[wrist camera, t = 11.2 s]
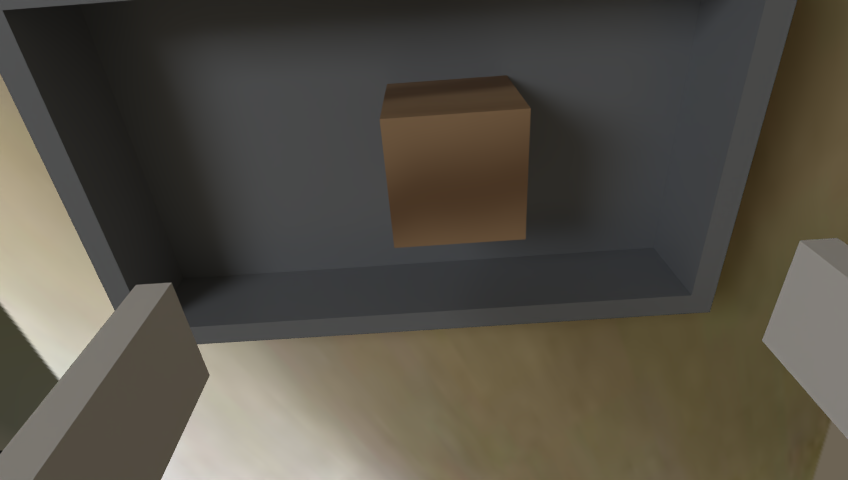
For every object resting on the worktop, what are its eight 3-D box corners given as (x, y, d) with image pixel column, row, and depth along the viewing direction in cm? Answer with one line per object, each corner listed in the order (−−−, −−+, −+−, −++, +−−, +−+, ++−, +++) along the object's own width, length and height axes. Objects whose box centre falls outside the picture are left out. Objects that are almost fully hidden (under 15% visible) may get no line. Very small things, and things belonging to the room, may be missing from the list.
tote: (56, -30, 19) (-47, -24, 15) (729, -83, 19) (822, -93, 15) (178, 284, 27) (132, 348, 23) (661, 252, 26) (709, 312, 22)
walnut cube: (387, 84, 21) (379, 119, 16) (506, 75, 21) (530, 108, 16) (398, 192, 23) (394, 247, 19) (504, 185, 23) (525, 239, 19)
